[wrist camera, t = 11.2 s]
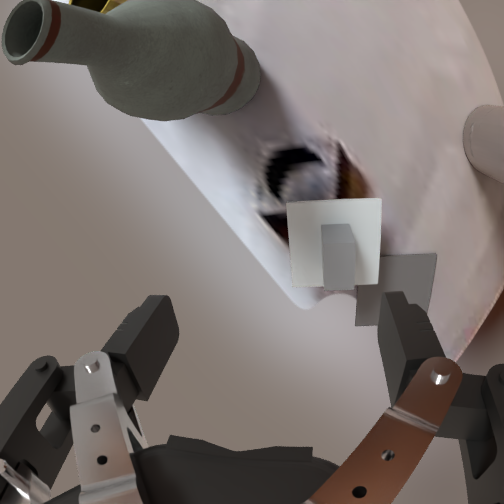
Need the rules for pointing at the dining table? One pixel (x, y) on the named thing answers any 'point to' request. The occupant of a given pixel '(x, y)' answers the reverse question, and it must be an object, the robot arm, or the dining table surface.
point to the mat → (397, 284)
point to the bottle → (141, 54)
